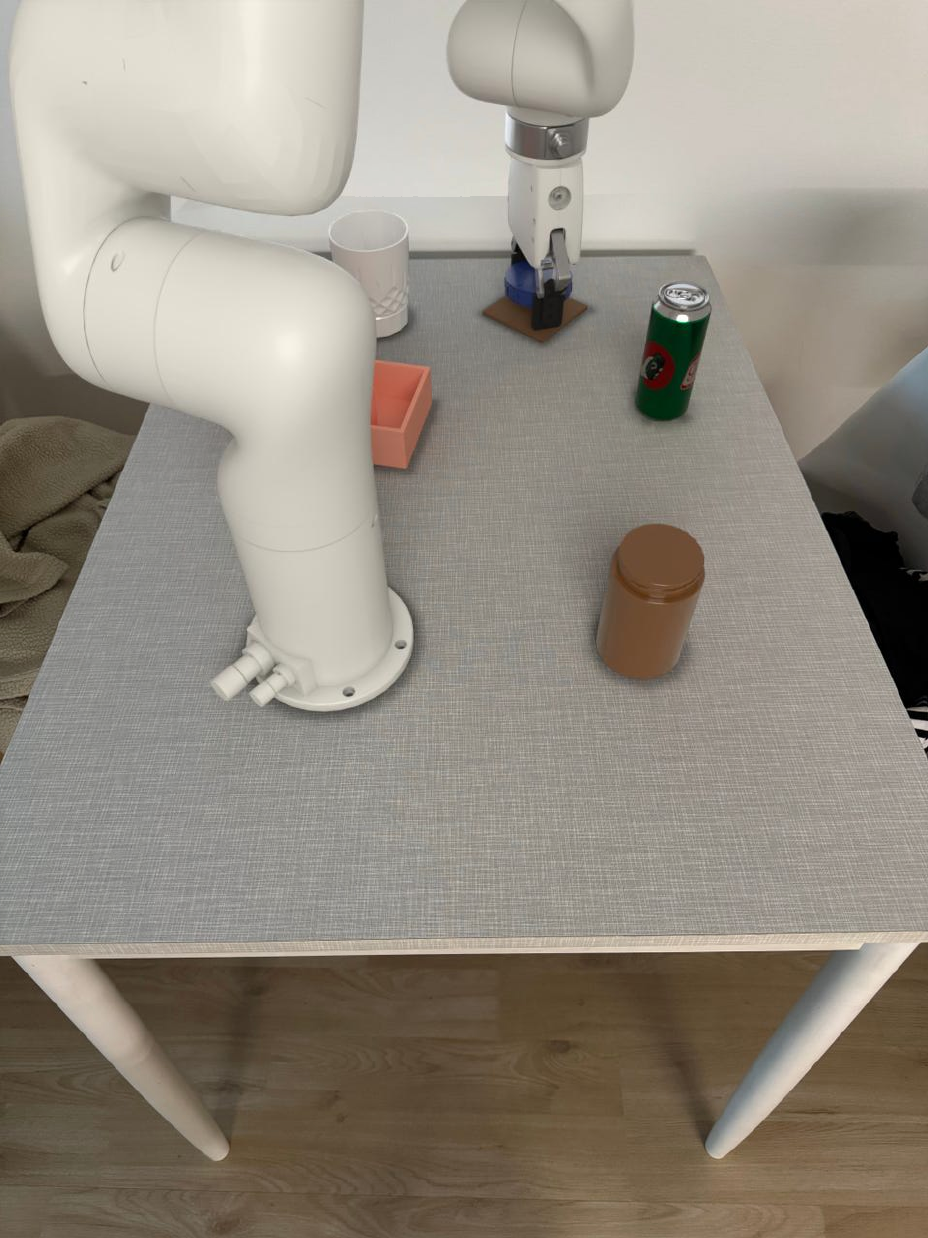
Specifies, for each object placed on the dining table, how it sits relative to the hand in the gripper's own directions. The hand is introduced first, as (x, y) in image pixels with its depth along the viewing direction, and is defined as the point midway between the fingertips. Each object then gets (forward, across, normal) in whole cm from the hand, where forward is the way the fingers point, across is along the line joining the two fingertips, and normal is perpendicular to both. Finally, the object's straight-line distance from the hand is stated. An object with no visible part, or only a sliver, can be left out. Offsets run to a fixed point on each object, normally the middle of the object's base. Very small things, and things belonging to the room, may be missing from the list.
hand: (535, 305), depth 93 cm
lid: (-3, 0, 0) cm, 3 cm away
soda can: (+1, -18, -7) cm, 20 cm away
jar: (+1, -44, +6) cm, 44 cm away
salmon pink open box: (+1, -12, +24) cm, 27 cm away
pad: (+1, 0, 0) cm, 1 cm away
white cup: (+1, +3, +17) cm, 17 cm away
